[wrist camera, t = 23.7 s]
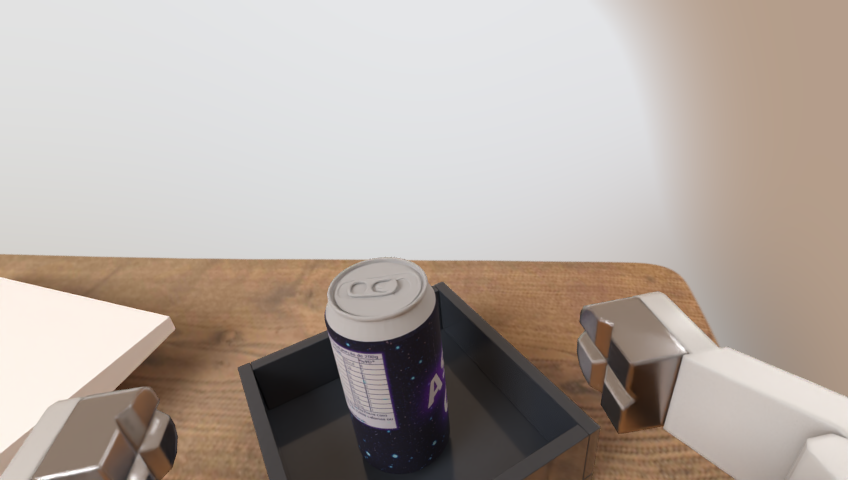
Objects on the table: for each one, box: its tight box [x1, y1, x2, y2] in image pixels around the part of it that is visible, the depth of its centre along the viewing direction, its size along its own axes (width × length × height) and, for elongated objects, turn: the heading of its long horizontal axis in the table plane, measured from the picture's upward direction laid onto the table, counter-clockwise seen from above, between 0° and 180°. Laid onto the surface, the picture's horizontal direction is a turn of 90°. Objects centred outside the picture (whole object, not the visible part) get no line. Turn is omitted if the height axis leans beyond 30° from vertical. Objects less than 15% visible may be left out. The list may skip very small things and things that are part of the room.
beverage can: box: [325, 257, 450, 474], centre depth 25 cm, size 6×6×12 cm
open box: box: [238, 282, 600, 480], centre depth 28 cm, size 16×16×5 cm
